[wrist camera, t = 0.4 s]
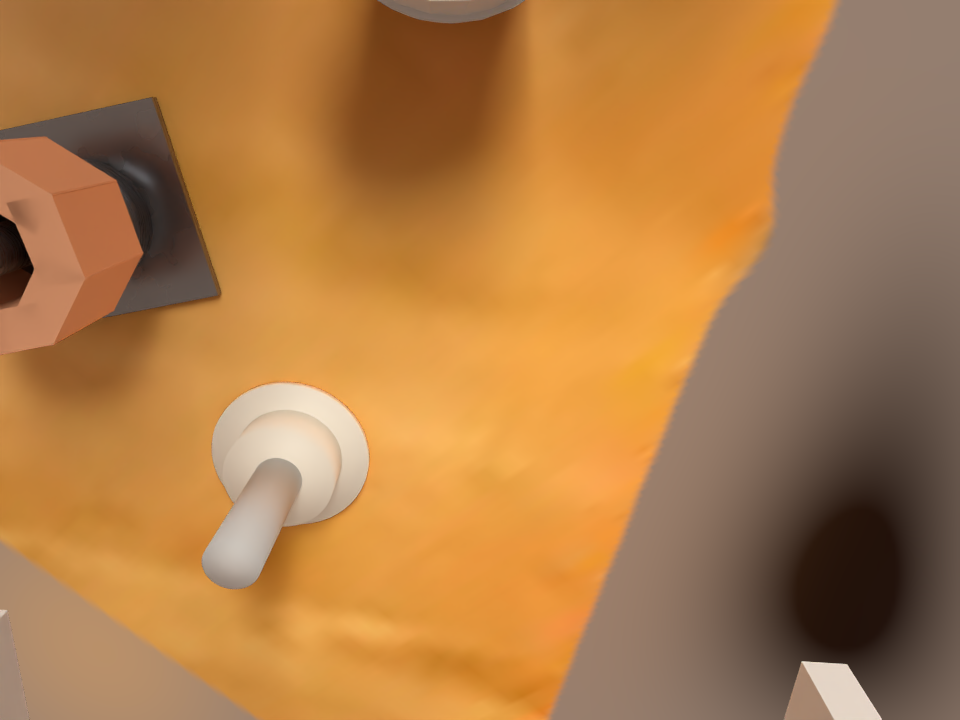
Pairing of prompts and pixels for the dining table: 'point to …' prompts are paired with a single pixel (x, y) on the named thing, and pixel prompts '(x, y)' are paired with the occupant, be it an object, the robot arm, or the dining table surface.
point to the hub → (280, 472)
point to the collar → (61, 243)
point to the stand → (132, 201)
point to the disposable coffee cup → (451, 9)
